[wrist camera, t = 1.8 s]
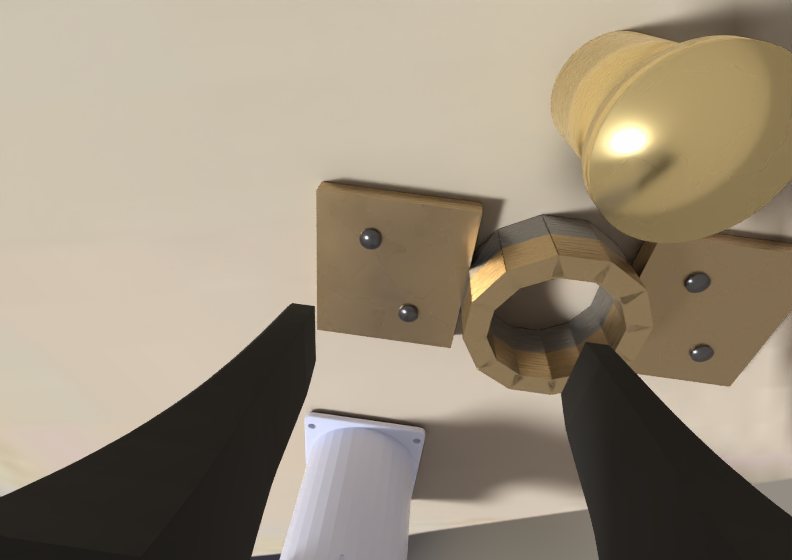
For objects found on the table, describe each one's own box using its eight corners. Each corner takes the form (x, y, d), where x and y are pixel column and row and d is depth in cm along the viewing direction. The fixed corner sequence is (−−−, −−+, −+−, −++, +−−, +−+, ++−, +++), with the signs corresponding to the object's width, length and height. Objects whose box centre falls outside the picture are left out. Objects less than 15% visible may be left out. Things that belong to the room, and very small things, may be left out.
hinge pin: (646, 166, 18) (742, 254, 12) (525, 150, 18) (563, 230, 12) (708, 26, 15) (873, 54, 9) (564, 9, 15) (638, 24, 9)
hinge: (719, 372, 24) (757, 426, 21) (321, 317, 24) (304, 363, 21) (815, 246, 19) (881, 293, 16) (321, 181, 19) (300, 216, 17)
